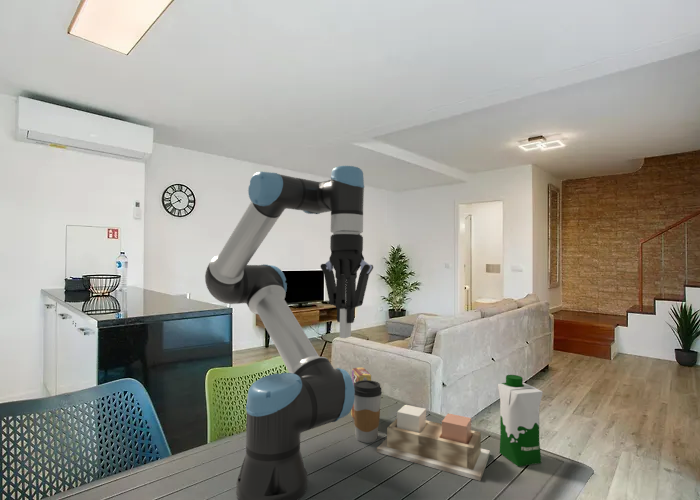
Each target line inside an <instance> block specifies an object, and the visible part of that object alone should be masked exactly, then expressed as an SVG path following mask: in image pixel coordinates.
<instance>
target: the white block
mask: <svg viewBox="0 0 700 500" xmlns="http://www.w3.org/2000/svg"><path fill="white" fill-rule="evenodd" d="M396 419H397V428H401V429H405V430H409V431H413V432H417V433H421V432H422V430H423V429H424V428H425V427H426V420H427V408H424V407H419V406H414V405H409V404H405V405H403V406H402V407H401V408H400V409H398V410H397V411H396Z"/></svg>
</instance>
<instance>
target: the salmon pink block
mask: <svg viewBox="0 0 700 500" xmlns="http://www.w3.org/2000/svg"><path fill="white" fill-rule="evenodd" d="M441 424H442V438H443V439H447V440H451V441H455V442H460V443H464V444H469V442H470V440H471V430H472V417H467V416H463V415H458V414H453V413H447V414H446V415H445V416H444V418H443V419H442V420H441Z"/></svg>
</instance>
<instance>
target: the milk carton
mask: <svg viewBox="0 0 700 500" xmlns="http://www.w3.org/2000/svg"><path fill="white" fill-rule="evenodd" d="M497 387H498V394H499V400H500V402H499V403H500V407H499V408H500V412H499V413H500V419H499V421H500V426H499V427H500V436H499V437H500V438H499V454H501V455H502V456H503V457H504V458H506V459H507V460H508V461H510V462H511V463H512V464H514V465H515V466H516V467H524V466H531V465H537V464H538V465H539V464H542V455H541V445H540V406H541V401H542V397H543V394H544V391H543V390H540V389H538V388H537V387H536V386H532V385H531V384H528V383H525V382H523V376H521V375H516V374H508V375H505V382H502V383H498V384H497Z"/></svg>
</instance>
